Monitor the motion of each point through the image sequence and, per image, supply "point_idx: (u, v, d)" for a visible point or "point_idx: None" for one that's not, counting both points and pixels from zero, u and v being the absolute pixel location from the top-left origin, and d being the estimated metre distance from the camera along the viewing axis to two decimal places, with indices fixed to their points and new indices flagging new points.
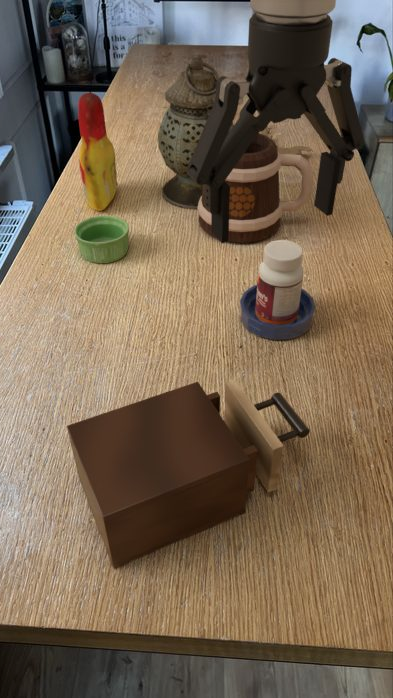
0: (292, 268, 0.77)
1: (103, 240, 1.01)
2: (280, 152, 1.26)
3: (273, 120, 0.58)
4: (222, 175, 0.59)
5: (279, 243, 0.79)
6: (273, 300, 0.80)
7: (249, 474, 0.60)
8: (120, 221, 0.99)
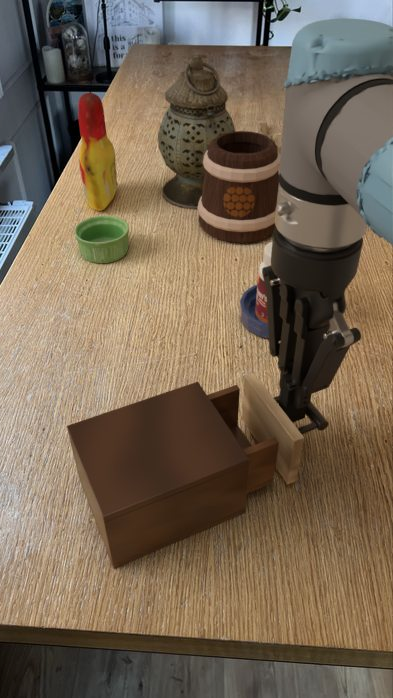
0: None
1: (103, 240, 1.01)
2: (280, 152, 1.26)
3: None
4: None
5: None
6: None
7: (269, 466, 0.61)
8: (120, 221, 0.99)
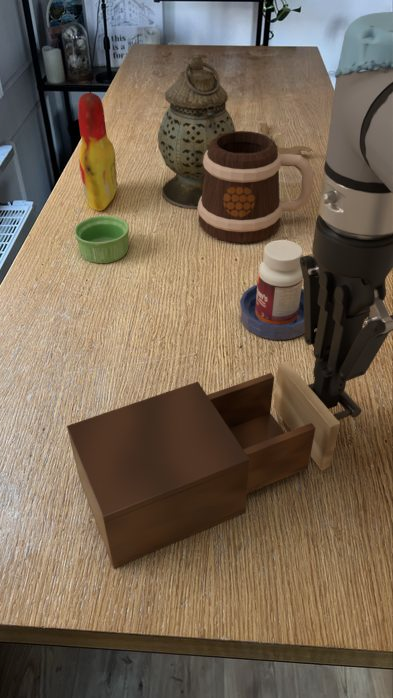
0: (292, 268, 0.77)
1: (103, 240, 1.01)
2: (280, 152, 1.26)
3: None
4: None
5: (279, 243, 0.79)
6: (273, 300, 0.80)
7: (305, 451, 0.62)
8: (120, 221, 0.99)
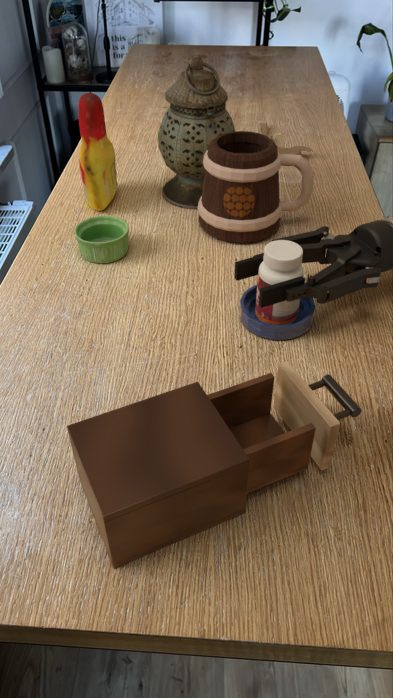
0: (292, 268, 0.77)
1: (103, 240, 1.01)
2: (280, 152, 1.26)
3: None
4: None
5: (279, 243, 0.79)
6: None
7: (305, 451, 0.62)
8: (120, 221, 0.99)
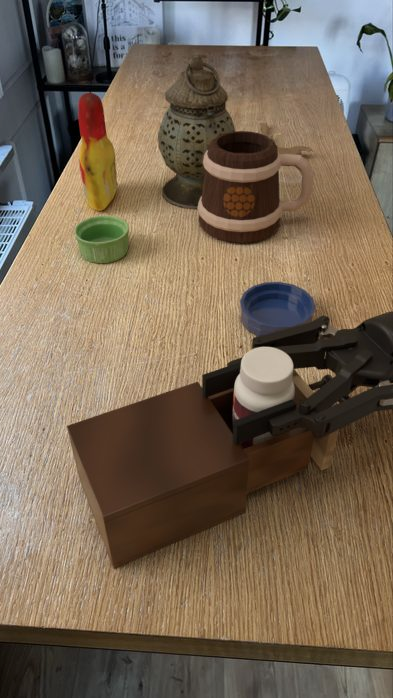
0: (279, 391, 0.56)
1: (103, 240, 1.01)
2: (280, 152, 1.26)
3: None
4: None
5: (261, 353, 0.58)
6: None
7: (305, 451, 0.62)
8: (120, 221, 0.99)
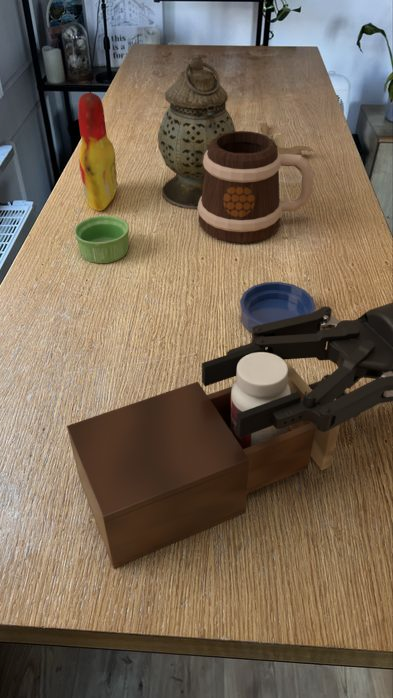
0: (274, 394, 0.58)
1: (103, 240, 1.01)
2: (280, 152, 1.26)
3: None
4: None
5: (257, 358, 0.60)
6: None
7: (305, 451, 0.62)
8: (120, 221, 0.99)
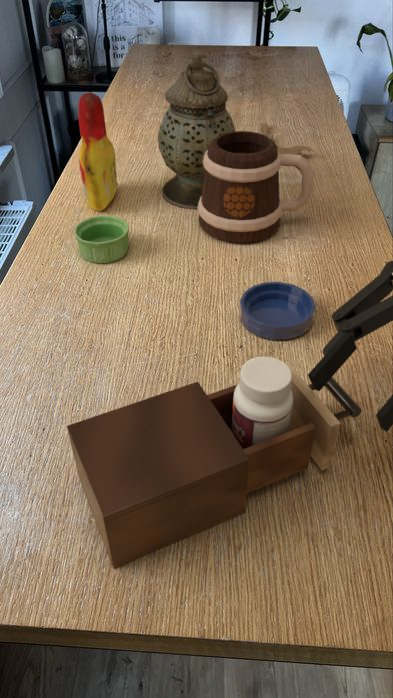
0: (277, 400, 0.57)
1: (103, 240, 1.01)
2: (281, 152, 1.26)
3: None
4: None
5: (261, 362, 0.59)
6: (252, 436, 0.60)
7: (305, 451, 0.62)
8: (120, 221, 0.99)
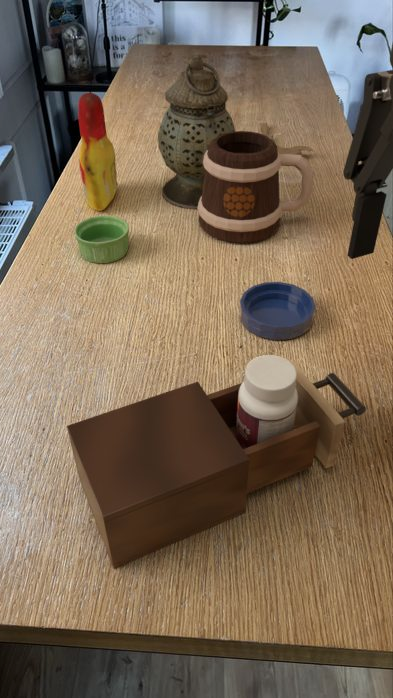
0: (282, 398, 0.58)
1: (103, 240, 1.01)
2: (281, 152, 1.26)
3: None
4: None
5: (266, 361, 0.60)
6: (257, 434, 0.61)
7: (310, 449, 0.62)
8: (120, 221, 0.99)
